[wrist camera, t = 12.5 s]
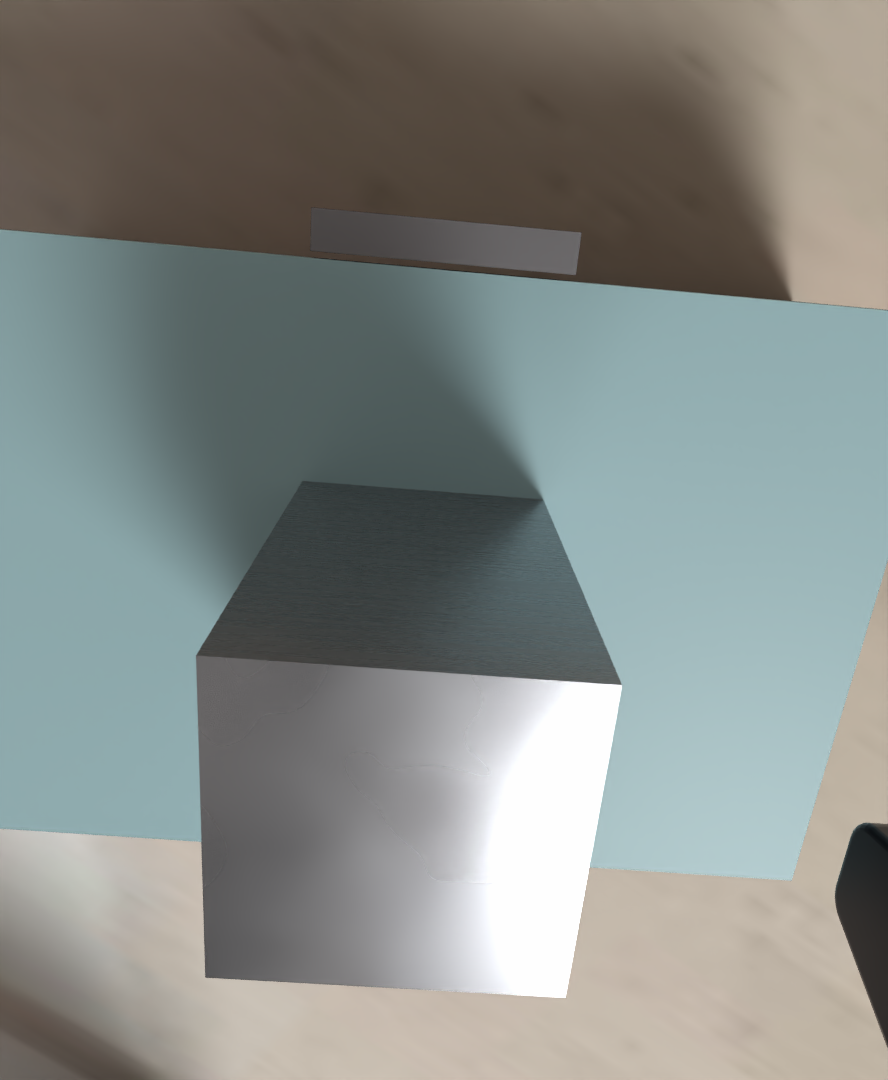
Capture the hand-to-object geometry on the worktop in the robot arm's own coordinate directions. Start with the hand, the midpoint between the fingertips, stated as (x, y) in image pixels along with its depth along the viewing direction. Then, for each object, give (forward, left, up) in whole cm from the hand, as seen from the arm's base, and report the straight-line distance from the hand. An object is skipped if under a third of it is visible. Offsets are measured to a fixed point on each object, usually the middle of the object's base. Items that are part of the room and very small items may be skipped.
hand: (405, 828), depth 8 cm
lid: (0, 0, -8) cm, 8 cm away
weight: (0, 0, -6) cm, 6 cm away
